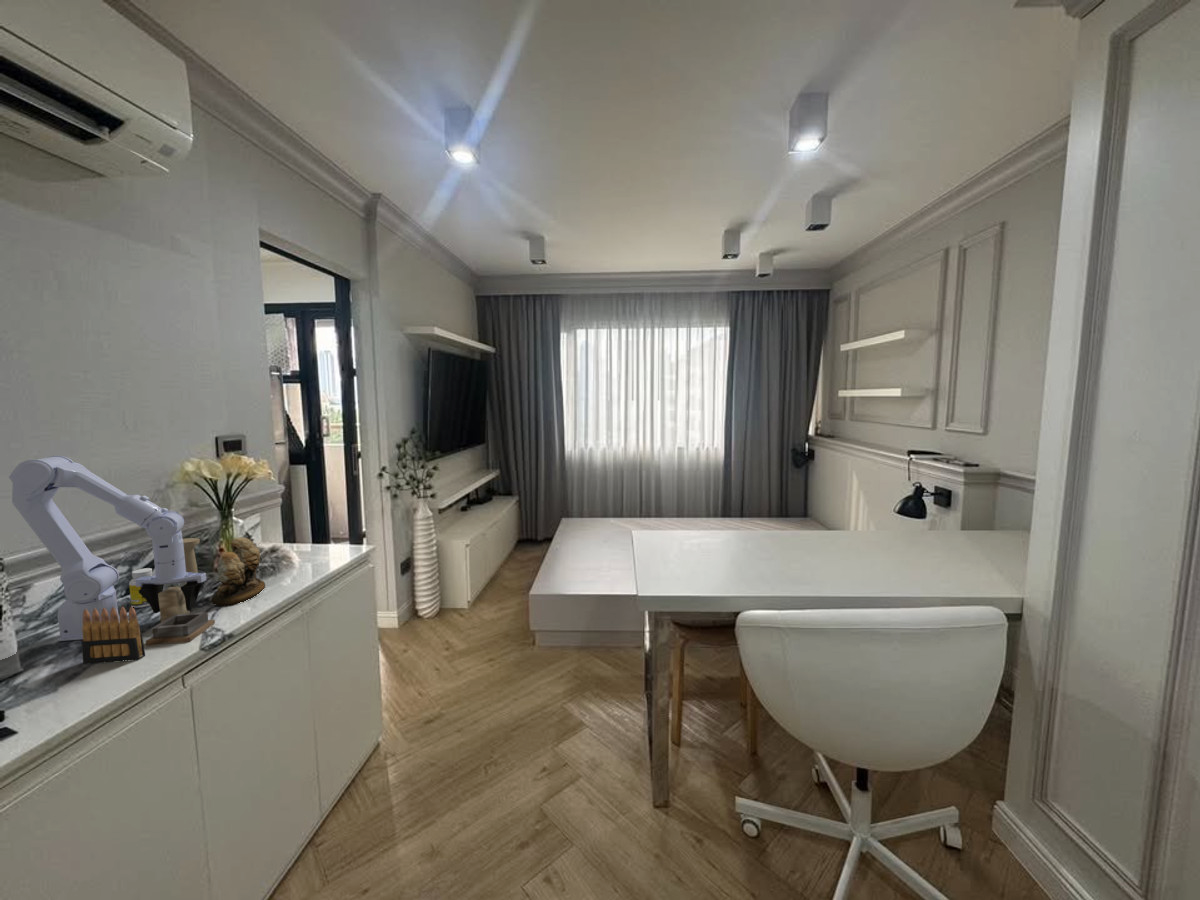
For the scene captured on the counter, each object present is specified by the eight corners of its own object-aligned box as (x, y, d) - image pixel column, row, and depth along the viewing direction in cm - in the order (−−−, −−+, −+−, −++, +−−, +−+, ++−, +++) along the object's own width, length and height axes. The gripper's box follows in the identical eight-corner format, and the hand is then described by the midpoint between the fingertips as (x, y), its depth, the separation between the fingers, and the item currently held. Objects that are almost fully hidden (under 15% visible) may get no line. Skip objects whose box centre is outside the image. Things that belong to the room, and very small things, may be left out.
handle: (195, 591, 137) (190, 542, 135) (172, 592, 136) (167, 543, 134) (207, 584, 141) (203, 537, 140) (185, 585, 141) (180, 538, 139)
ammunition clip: (82, 664, 99) (76, 611, 97) (91, 659, 101) (84, 607, 99) (138, 660, 100) (132, 607, 99) (145, 655, 102) (140, 604, 101)
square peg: (161, 623, 117) (158, 593, 116) (172, 616, 121) (169, 587, 120) (179, 622, 117) (176, 592, 117) (190, 615, 121) (187, 586, 121)
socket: (146, 645, 106) (144, 630, 106) (174, 626, 115) (173, 613, 115) (190, 641, 108) (189, 627, 108) (214, 623, 117) (213, 610, 116)
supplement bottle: (142, 609, 125) (138, 574, 124) (126, 607, 126) (122, 573, 125) (164, 600, 130) (160, 567, 129) (148, 599, 131) (144, 566, 130)
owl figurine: (226, 585, 141) (222, 531, 139) (272, 580, 145) (268, 528, 144) (201, 609, 124) (196, 548, 123) (254, 603, 129) (249, 544, 127)
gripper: (211, 552, 123) (216, 601, 124) (149, 556, 120) (154, 605, 121) (193, 561, 116) (198, 613, 117) (126, 565, 113) (132, 618, 114)
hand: (175, 610), depth 119 cm, fingers open, 7 cm apart
